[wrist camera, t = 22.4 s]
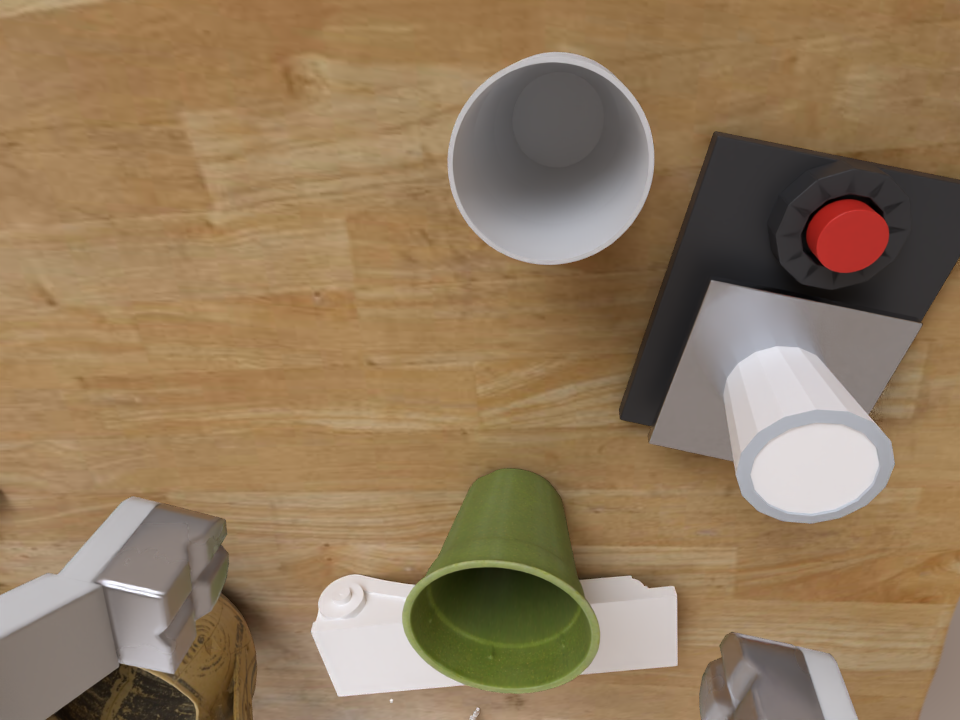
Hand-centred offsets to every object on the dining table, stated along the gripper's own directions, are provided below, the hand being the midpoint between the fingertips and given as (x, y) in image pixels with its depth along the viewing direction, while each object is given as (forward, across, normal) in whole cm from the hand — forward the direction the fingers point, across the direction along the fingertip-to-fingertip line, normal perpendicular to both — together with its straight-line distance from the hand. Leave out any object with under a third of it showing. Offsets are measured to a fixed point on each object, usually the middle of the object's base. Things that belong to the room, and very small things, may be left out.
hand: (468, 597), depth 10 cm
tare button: (+26, -15, 0) cm, 30 cm away
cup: (+29, 0, -2) cm, 29 cm away
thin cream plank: (+29, -4, +37) cm, 47 cm away
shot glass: (+26, -15, +9) cm, 31 cm away
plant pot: (+29, -3, +25) cm, 39 cm away
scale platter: (+26, -15, +9) cm, 31 cm away
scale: (+29, -15, +6) cm, 33 cm away
